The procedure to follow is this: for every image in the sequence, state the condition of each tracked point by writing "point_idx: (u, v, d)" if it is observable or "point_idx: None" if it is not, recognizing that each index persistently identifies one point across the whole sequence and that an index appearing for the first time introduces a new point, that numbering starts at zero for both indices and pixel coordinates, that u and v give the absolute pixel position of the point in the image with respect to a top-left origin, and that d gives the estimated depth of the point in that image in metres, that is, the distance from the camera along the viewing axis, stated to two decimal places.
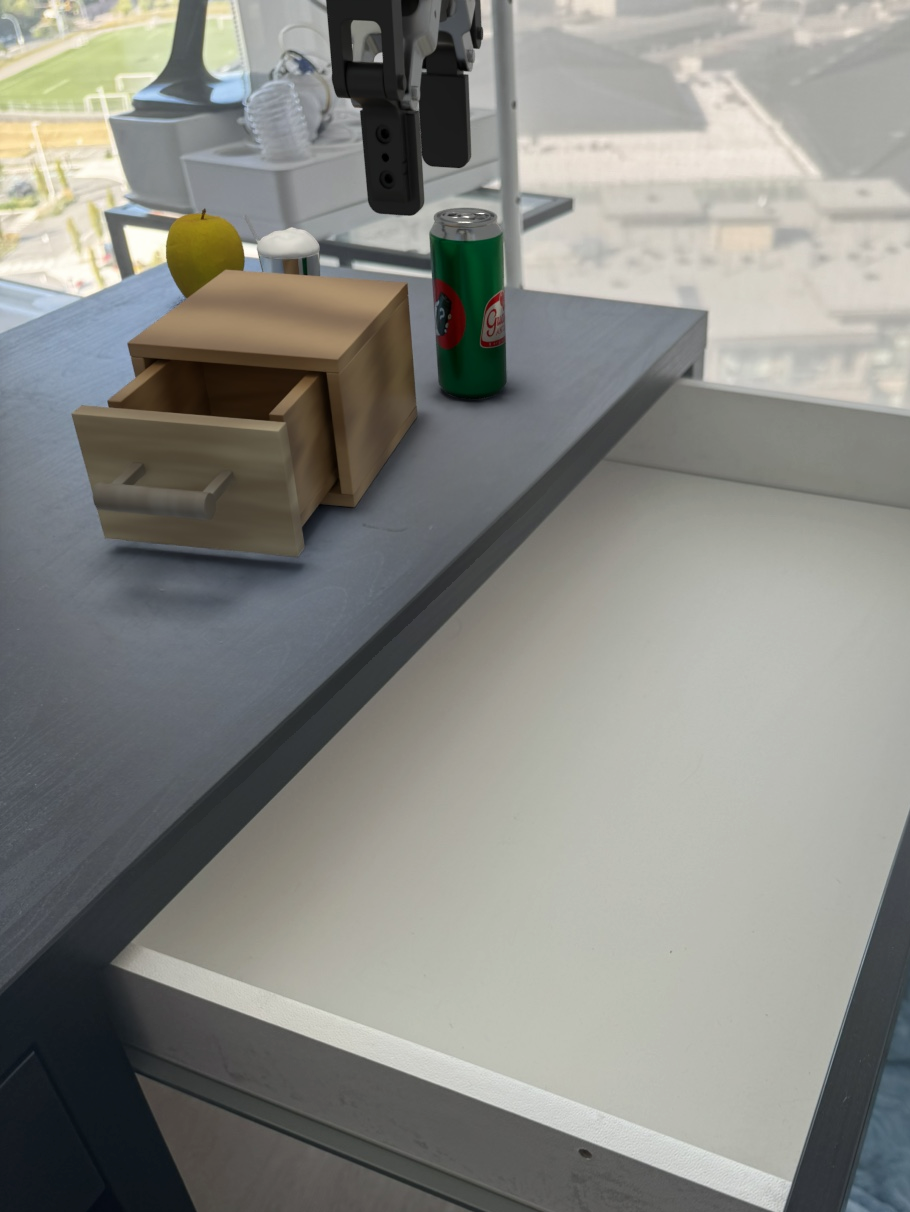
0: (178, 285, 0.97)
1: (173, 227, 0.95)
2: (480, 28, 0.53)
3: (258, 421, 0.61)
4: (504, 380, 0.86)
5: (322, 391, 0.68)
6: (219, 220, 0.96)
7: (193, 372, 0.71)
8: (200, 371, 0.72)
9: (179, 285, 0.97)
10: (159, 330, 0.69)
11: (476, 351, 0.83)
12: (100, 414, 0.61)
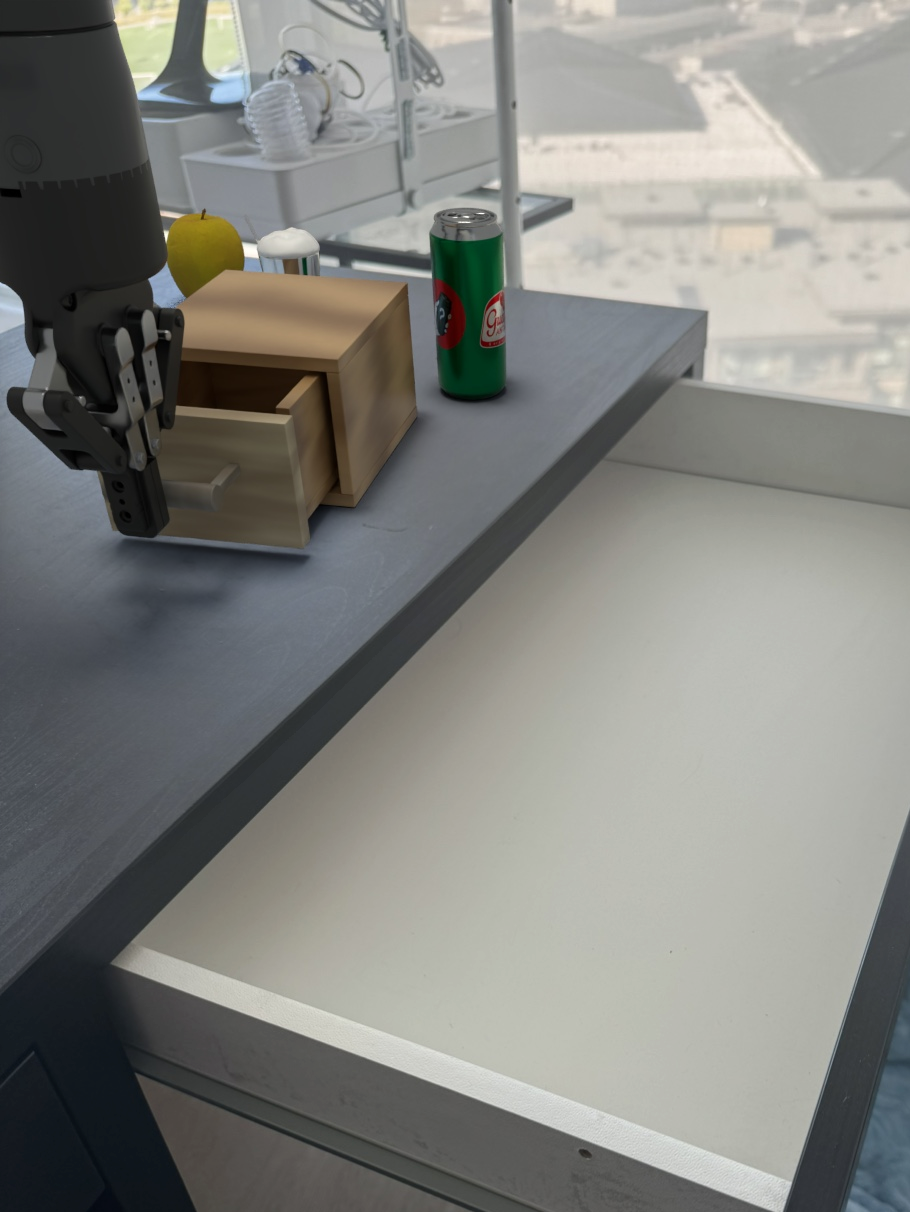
0: (178, 285, 0.97)
1: (173, 227, 0.95)
2: (170, 412, 0.58)
3: (264, 414, 0.62)
4: (504, 380, 0.86)
5: (327, 385, 0.68)
6: (219, 220, 0.96)
7: (199, 367, 0.72)
8: (206, 366, 0.73)
9: (179, 285, 0.97)
10: None
11: (476, 351, 0.83)
12: None
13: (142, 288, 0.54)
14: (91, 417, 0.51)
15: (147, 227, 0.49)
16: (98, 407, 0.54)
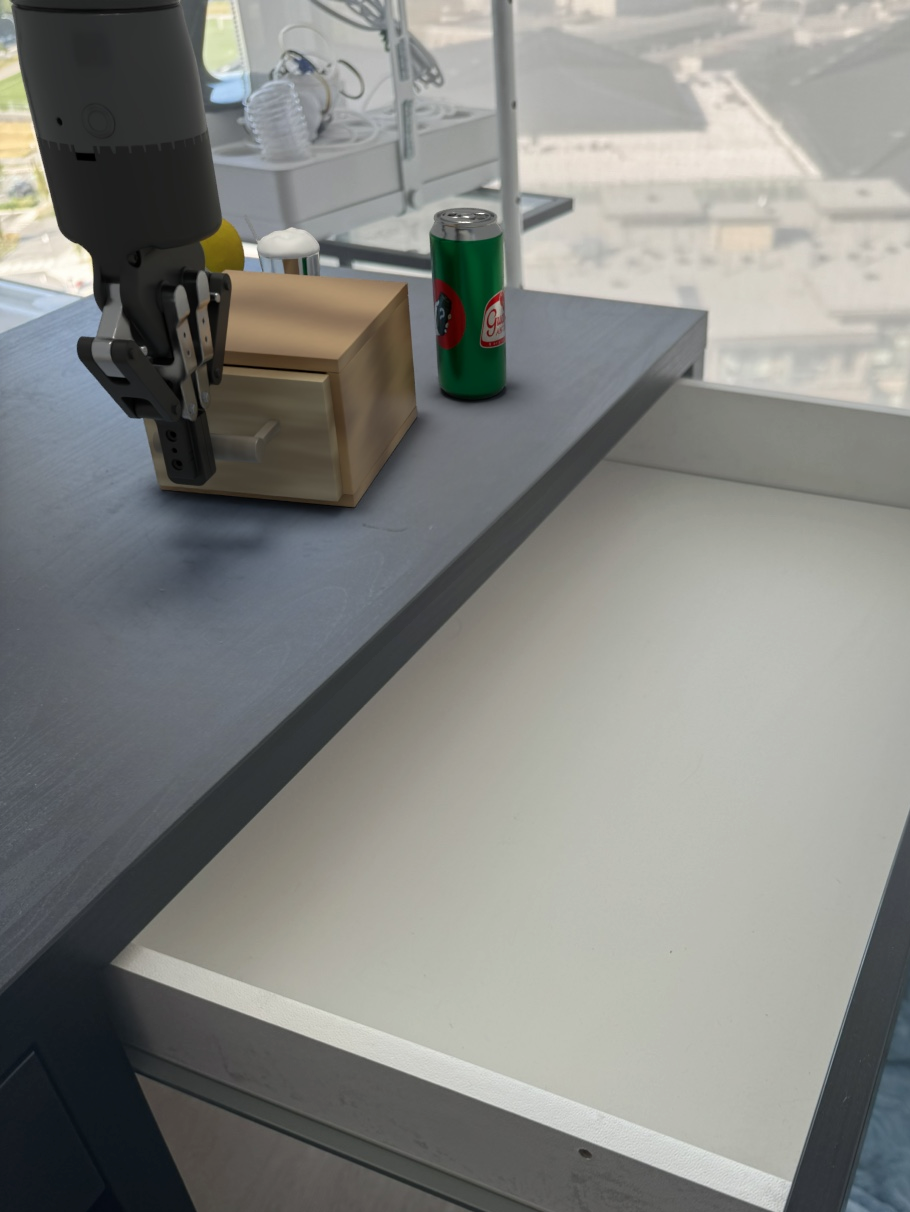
0: None
1: None
2: (218, 369, 0.63)
3: (303, 373, 0.66)
4: (504, 380, 0.86)
5: None
6: None
7: None
8: None
9: None
10: None
11: (476, 351, 0.83)
12: None
13: (196, 251, 0.59)
14: (151, 366, 0.56)
15: (206, 191, 0.54)
16: (155, 360, 0.59)
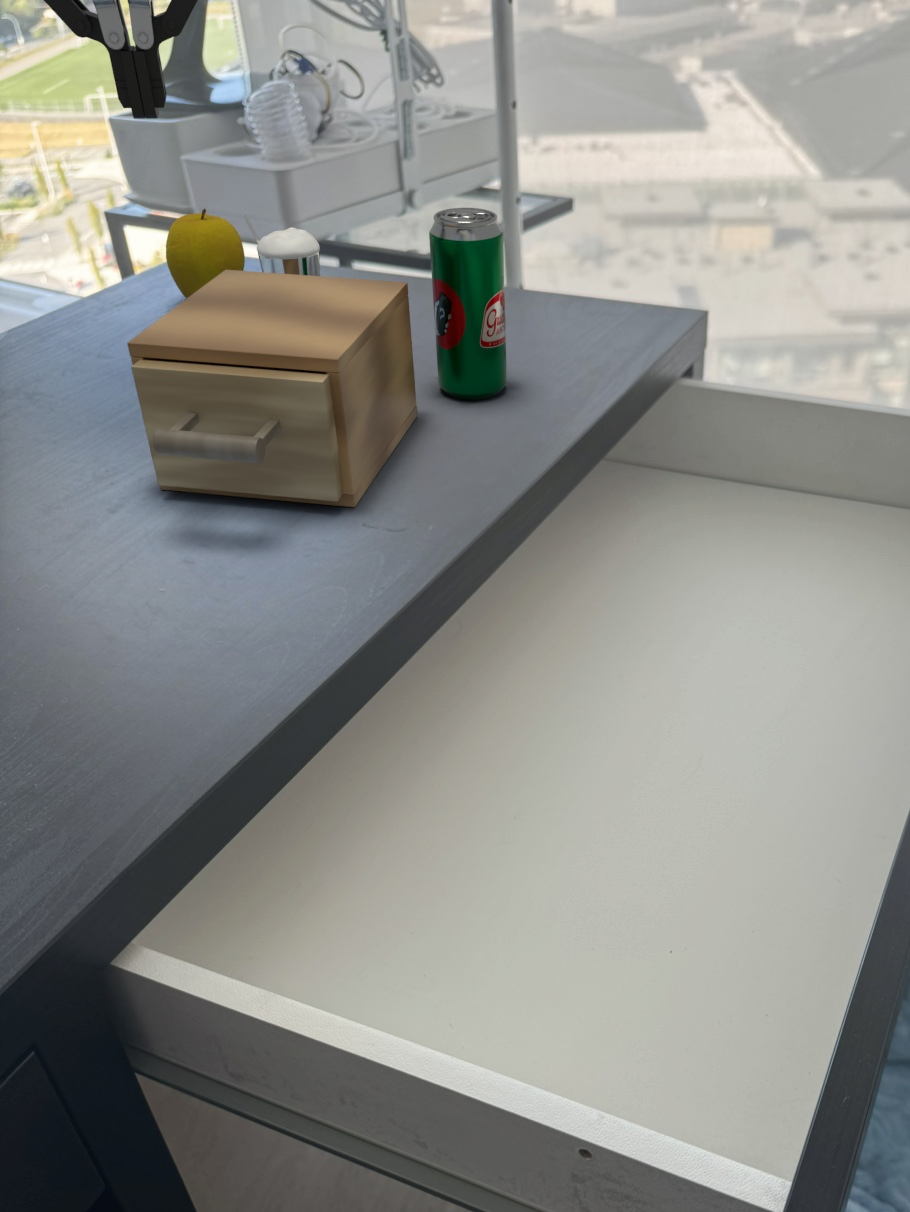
0: (178, 285, 0.97)
1: (173, 227, 0.95)
2: (171, 21, 0.70)
3: (303, 373, 0.66)
4: (504, 380, 0.86)
5: None
6: (219, 220, 0.96)
7: None
8: None
9: (179, 285, 0.97)
10: (159, 330, 0.69)
11: (476, 351, 0.83)
12: (158, 367, 0.67)
13: None
14: None
15: None
16: None
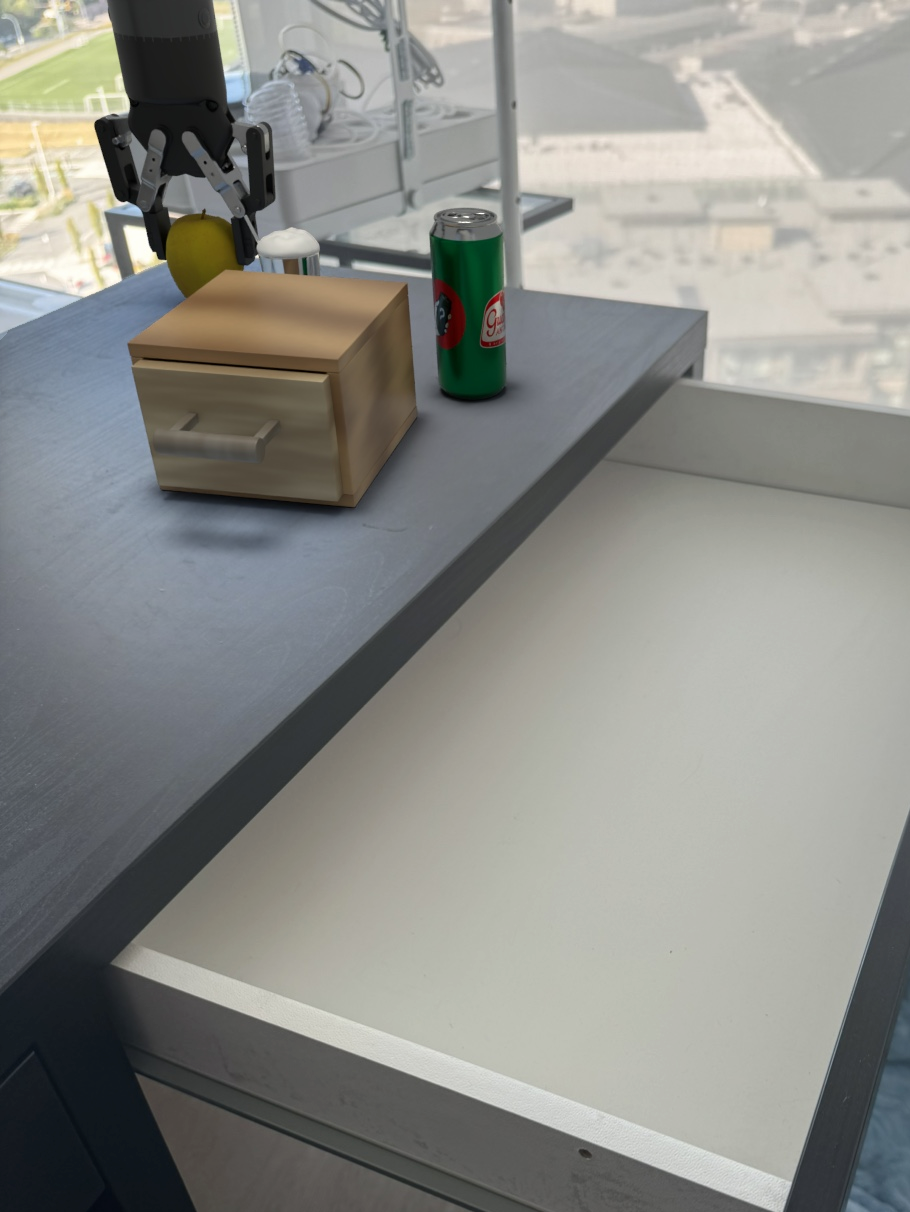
0: (178, 285, 0.97)
1: (173, 227, 0.95)
2: (255, 199, 0.93)
3: (303, 373, 0.66)
4: (504, 380, 0.86)
5: None
6: (219, 220, 0.96)
7: None
8: None
9: (179, 285, 0.97)
10: (159, 330, 0.69)
11: (476, 351, 0.83)
12: (158, 367, 0.67)
13: (211, 123, 0.90)
14: (115, 153, 0.92)
15: (145, 73, 0.86)
16: None
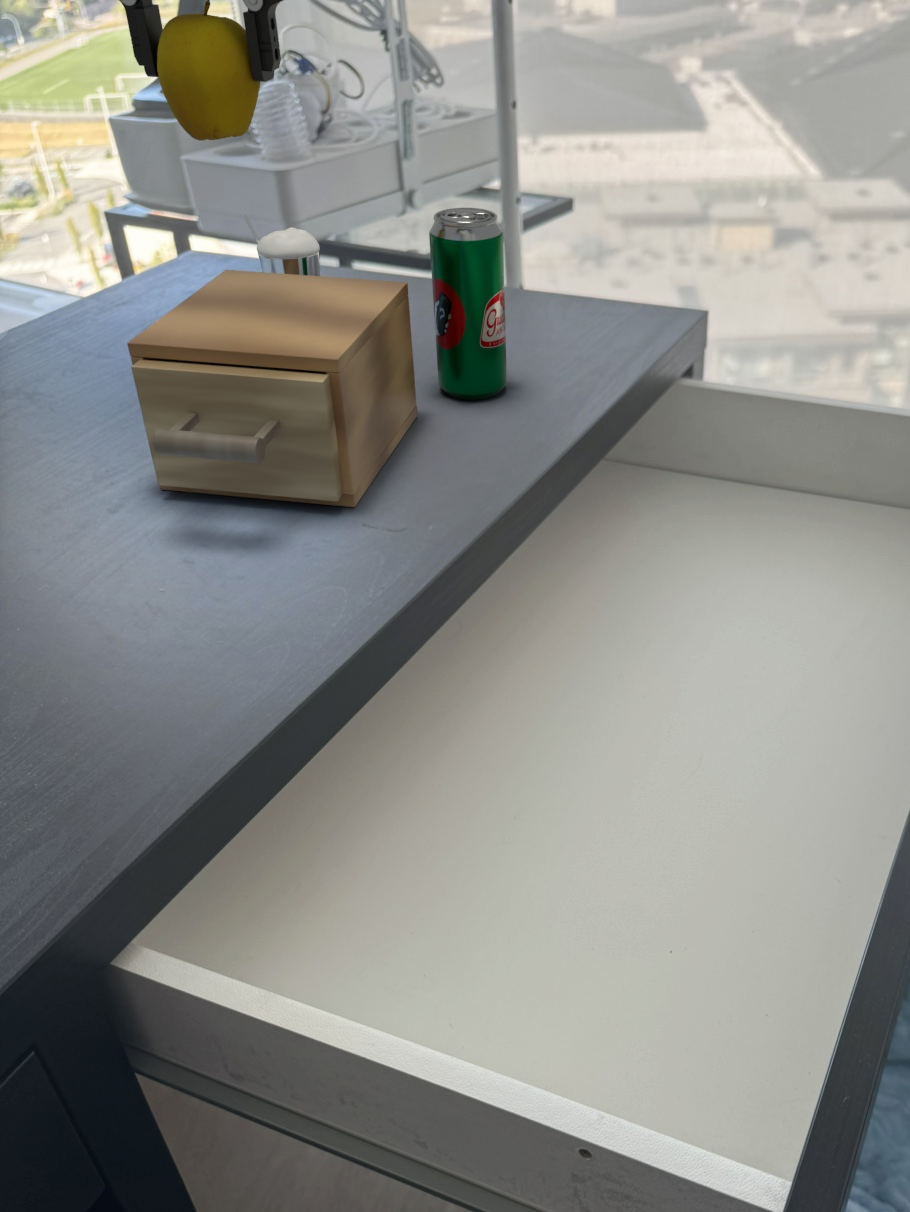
0: (174, 109, 0.74)
1: (167, 27, 0.72)
2: None
3: (303, 373, 0.66)
4: (504, 380, 0.86)
5: None
6: (227, 19, 0.73)
7: None
8: None
9: (175, 109, 0.74)
10: (159, 330, 0.69)
11: (476, 351, 0.83)
12: (158, 367, 0.67)
13: None
14: None
15: None
16: None
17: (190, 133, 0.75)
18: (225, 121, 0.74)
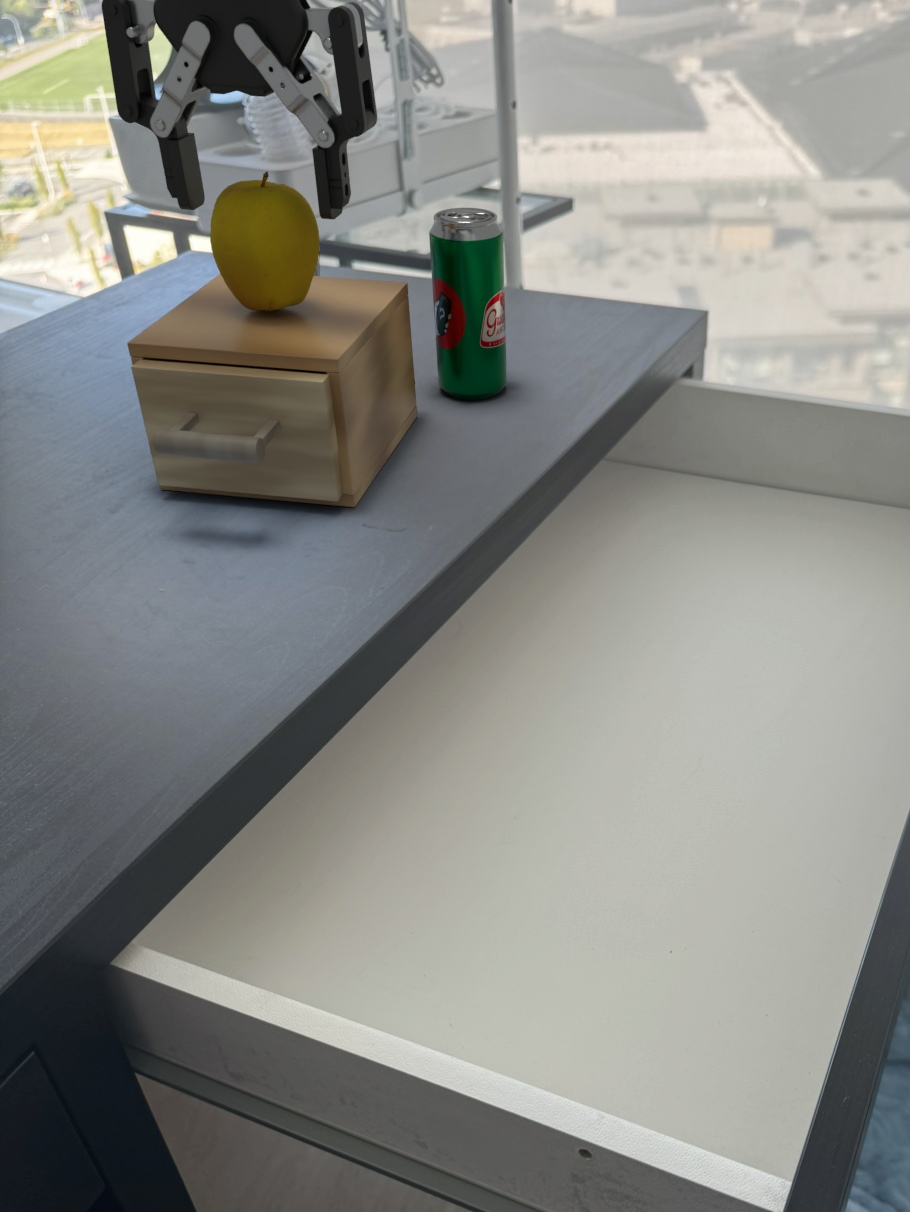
0: (227, 281, 0.69)
1: (221, 198, 0.67)
2: (351, 120, 0.63)
3: (303, 373, 0.66)
4: (504, 380, 0.86)
5: None
6: (286, 189, 0.68)
7: None
8: None
9: (229, 281, 0.69)
10: (159, 330, 0.69)
11: (476, 351, 0.83)
12: (158, 367, 0.67)
13: (277, 12, 0.61)
14: (127, 50, 0.63)
15: None
16: None
17: (243, 304, 0.70)
18: (281, 293, 0.69)
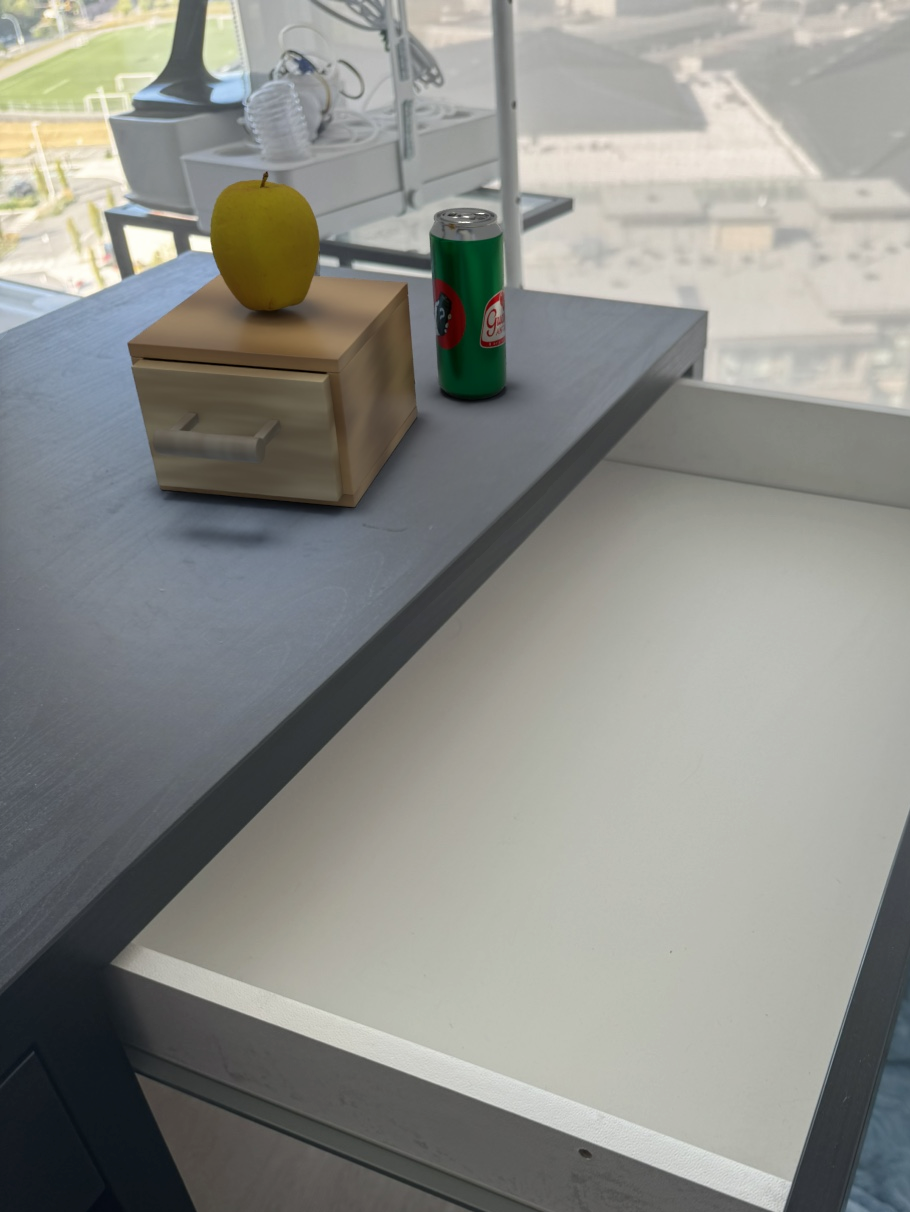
0: (227, 281, 0.69)
1: (221, 198, 0.67)
2: None
3: (303, 373, 0.66)
4: (504, 380, 0.86)
5: None
6: (286, 189, 0.68)
7: None
8: None
9: (229, 281, 0.69)
10: (159, 330, 0.69)
11: (476, 351, 0.83)
12: (158, 367, 0.67)
13: None
14: None
15: None
16: None
17: (243, 304, 0.70)
18: (281, 293, 0.69)
